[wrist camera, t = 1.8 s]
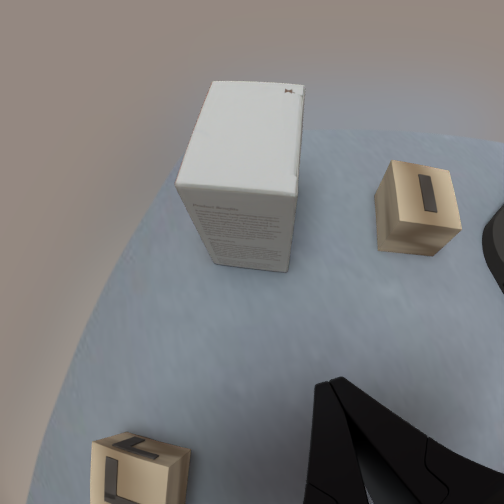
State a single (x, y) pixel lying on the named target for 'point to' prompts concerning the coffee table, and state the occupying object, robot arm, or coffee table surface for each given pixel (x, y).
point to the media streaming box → (495, 246)
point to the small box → (245, 172)
